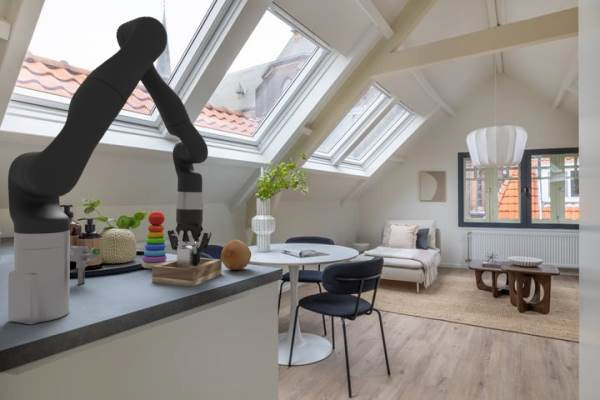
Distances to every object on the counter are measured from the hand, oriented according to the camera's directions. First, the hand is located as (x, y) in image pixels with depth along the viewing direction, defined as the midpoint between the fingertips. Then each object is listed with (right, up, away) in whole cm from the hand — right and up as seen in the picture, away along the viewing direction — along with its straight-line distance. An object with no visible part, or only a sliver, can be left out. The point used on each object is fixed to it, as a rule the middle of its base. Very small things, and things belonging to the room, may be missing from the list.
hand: (188, 264), depth 107 cm
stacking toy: (-16, -3, +14) cm, 21 cm away
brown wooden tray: (0, -4, 0) cm, 4 cm away
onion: (+12, -4, +12) cm, 17 cm away
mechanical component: (-27, -4, -9) cm, 28 cm away
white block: (0, -1, 0) cm, 1 cm away
